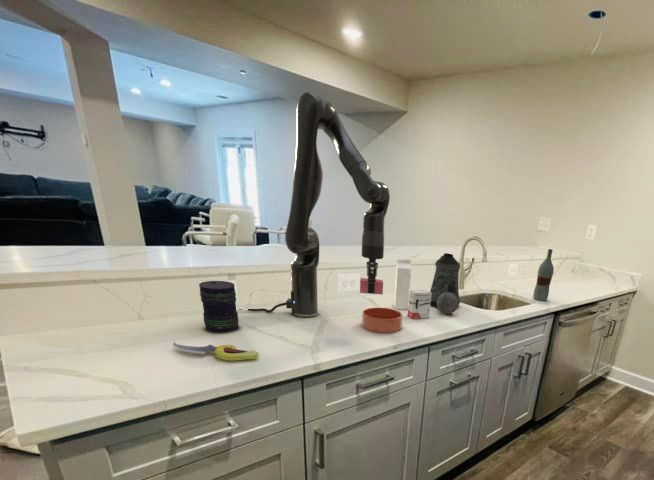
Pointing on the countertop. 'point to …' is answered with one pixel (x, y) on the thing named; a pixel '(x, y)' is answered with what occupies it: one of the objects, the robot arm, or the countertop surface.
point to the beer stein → (445, 278)
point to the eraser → (377, 289)
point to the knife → (220, 351)
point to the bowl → (382, 320)
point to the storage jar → (219, 306)
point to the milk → (402, 284)
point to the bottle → (544, 278)
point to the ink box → (419, 303)
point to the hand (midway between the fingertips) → (371, 291)
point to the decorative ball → (447, 303)
